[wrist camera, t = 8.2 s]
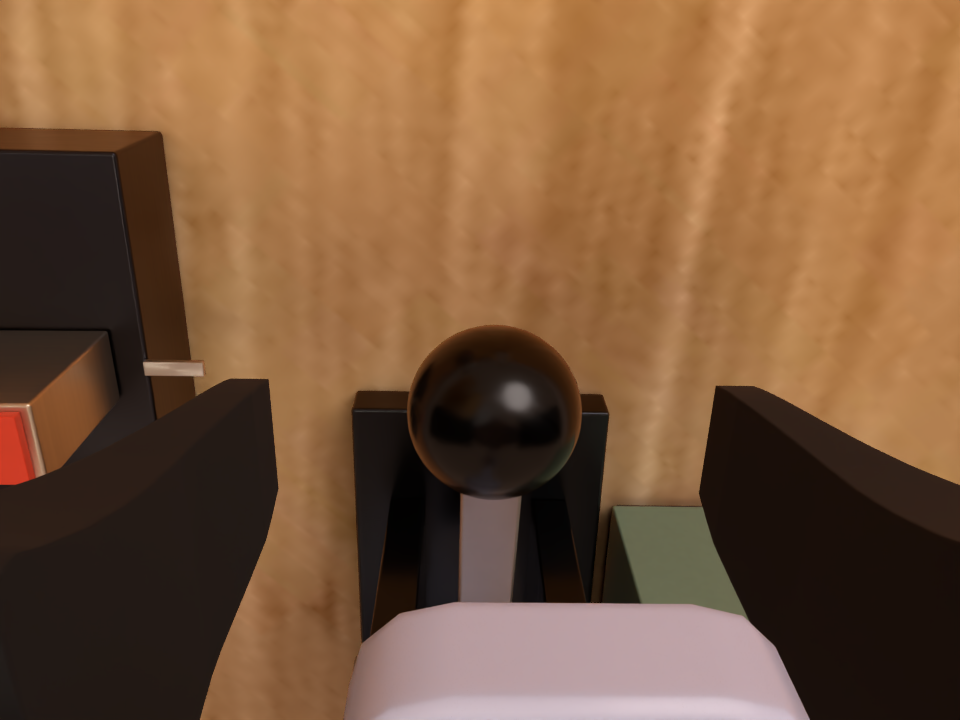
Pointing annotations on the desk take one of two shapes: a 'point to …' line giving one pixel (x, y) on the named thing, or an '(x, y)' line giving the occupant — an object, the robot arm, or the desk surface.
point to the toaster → (665, 559)
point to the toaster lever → (493, 439)
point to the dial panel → (97, 261)
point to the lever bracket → (436, 518)
